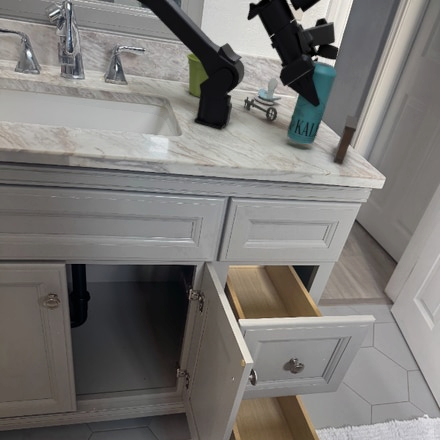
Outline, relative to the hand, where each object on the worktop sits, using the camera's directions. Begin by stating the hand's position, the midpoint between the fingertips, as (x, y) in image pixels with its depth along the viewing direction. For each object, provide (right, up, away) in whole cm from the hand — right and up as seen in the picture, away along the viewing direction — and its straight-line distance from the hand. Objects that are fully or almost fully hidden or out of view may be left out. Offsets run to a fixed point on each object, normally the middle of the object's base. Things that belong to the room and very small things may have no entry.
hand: (318, 102), depth 88 cm
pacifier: (-8, +13, +29) cm, 33 cm away
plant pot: (-26, +12, +23) cm, 37 cm away
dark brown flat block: (+6, -10, +5) cm, 12 cm away
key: (-11, +5, +19) cm, 22 cm away
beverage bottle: (-3, -7, +6) cm, 10 cm away
